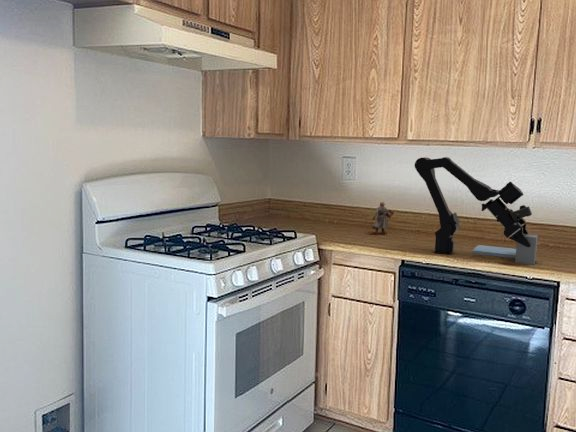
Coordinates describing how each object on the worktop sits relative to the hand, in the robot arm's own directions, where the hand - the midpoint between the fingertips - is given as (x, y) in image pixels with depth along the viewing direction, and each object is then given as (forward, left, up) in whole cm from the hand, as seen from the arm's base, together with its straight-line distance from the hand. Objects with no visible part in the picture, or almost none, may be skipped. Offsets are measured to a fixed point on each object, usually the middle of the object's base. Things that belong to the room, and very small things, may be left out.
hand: (530, 244), depth 205 cm
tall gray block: (-1, 0, -7) cm, 7 cm away
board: (-11, +12, -7) cm, 18 cm away
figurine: (-66, +28, -7) cm, 72 cm away
